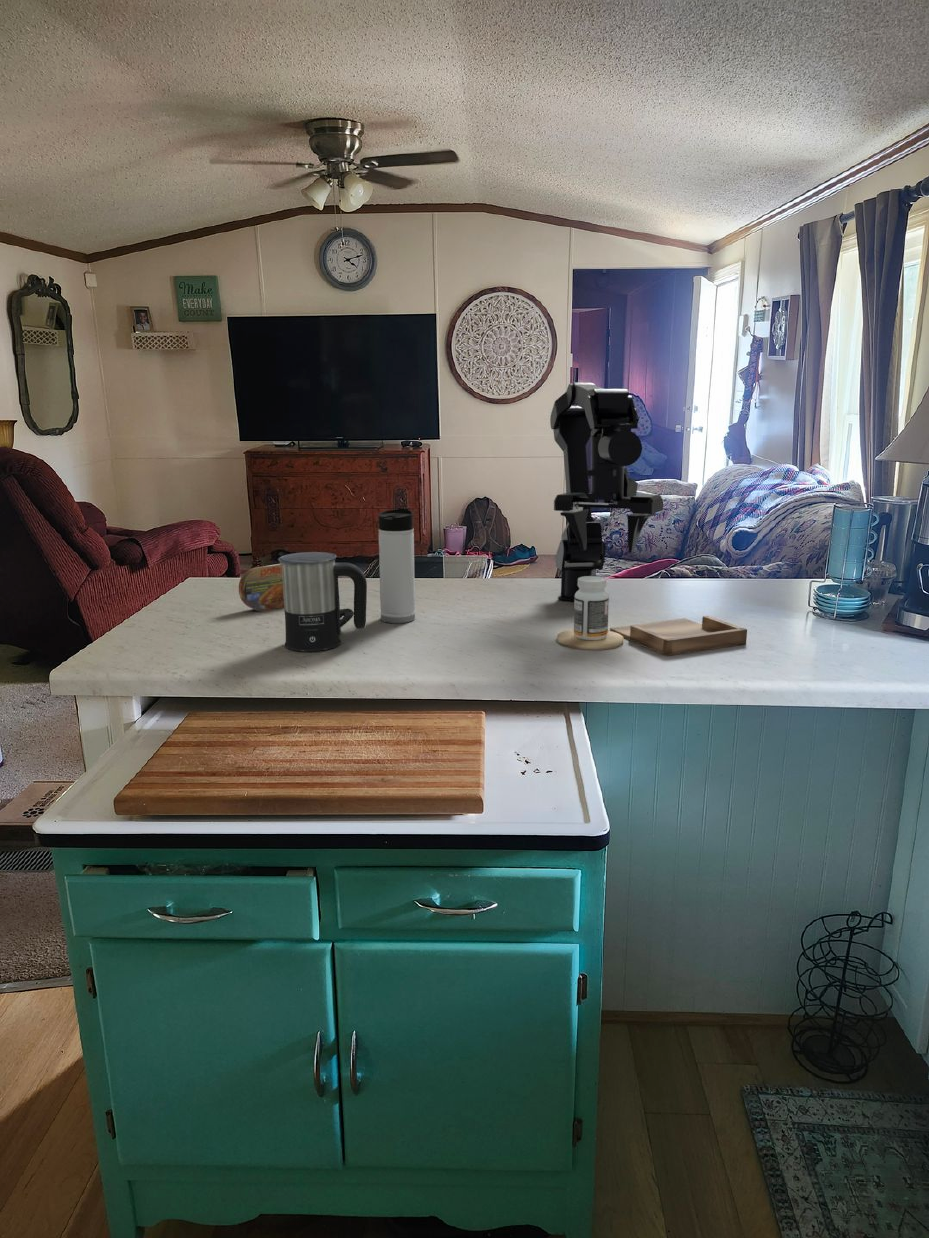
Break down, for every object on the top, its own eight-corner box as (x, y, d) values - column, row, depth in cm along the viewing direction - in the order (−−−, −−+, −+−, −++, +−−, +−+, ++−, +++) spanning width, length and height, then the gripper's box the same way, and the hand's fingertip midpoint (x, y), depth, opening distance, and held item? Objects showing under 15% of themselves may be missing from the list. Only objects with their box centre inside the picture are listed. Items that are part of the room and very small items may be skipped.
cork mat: (547, 644, 144) (547, 641, 144) (570, 628, 154) (570, 625, 153) (611, 653, 139) (612, 649, 139) (631, 636, 149) (631, 633, 149)
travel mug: (421, 616, 162) (420, 508, 157) (404, 625, 156) (402, 513, 151) (392, 613, 164) (390, 506, 159) (374, 621, 159) (371, 511, 154)
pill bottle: (610, 633, 148) (612, 576, 146) (604, 642, 143) (606, 583, 140) (576, 631, 150) (578, 574, 147) (570, 639, 145) (571, 581, 142)
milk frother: (292, 656, 138) (287, 563, 134) (266, 632, 152) (261, 547, 148) (376, 644, 144) (374, 556, 141) (344, 622, 158) (341, 541, 154)
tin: (245, 614, 164) (242, 570, 162) (237, 611, 166) (234, 567, 164) (315, 602, 173) (314, 560, 171) (308, 599, 176) (306, 558, 173)
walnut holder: (609, 631, 152) (610, 617, 151) (684, 621, 158) (685, 608, 158) (666, 655, 138) (667, 640, 137) (746, 644, 144) (747, 629, 144)
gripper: (675, 459, 154) (674, 547, 158) (580, 459, 165) (580, 542, 168) (651, 464, 145) (649, 557, 149) (551, 464, 156) (553, 551, 159)
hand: (607, 551), depth 157 cm, fingers open, 9 cm apart
